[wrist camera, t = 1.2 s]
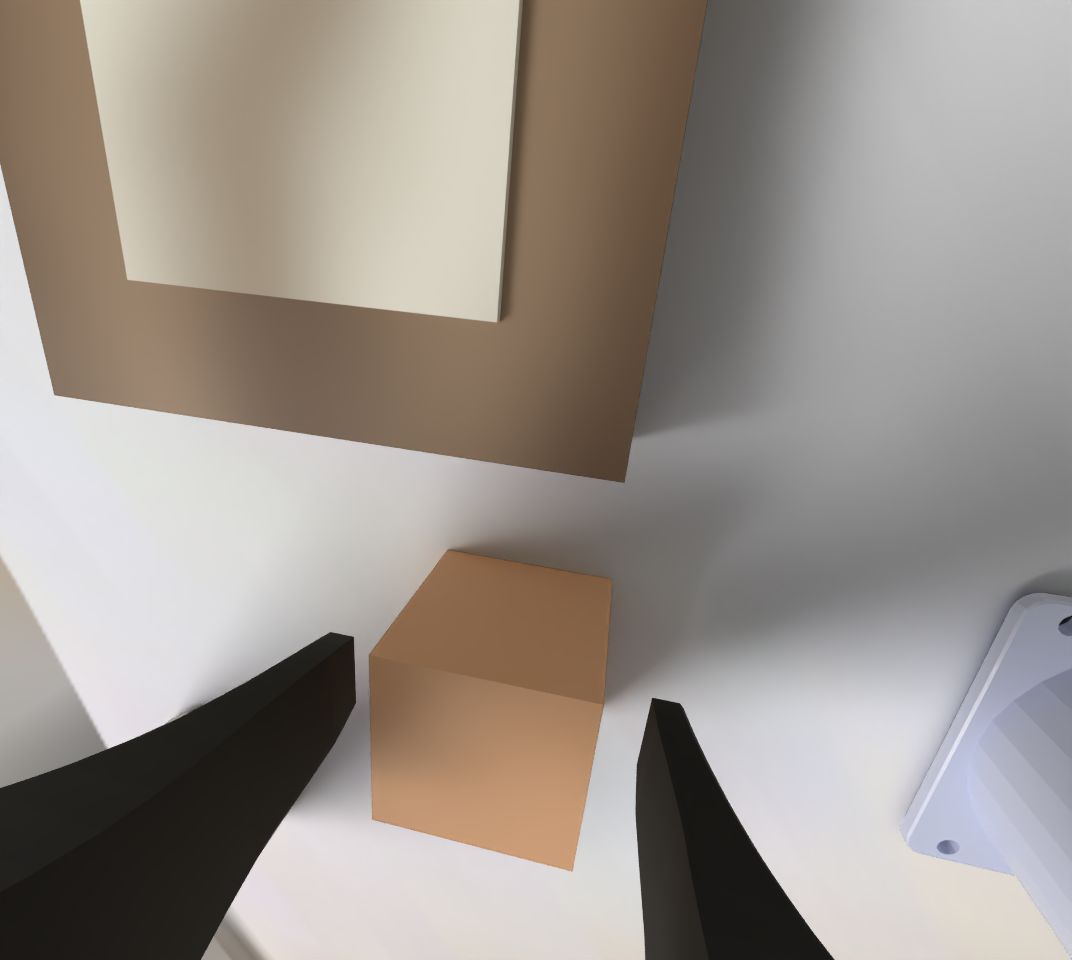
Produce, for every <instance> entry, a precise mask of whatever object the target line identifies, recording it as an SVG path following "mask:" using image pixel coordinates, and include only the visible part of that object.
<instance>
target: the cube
mask: <svg viewBox="0 0 1072 960" xmlns="http://www.w3.org/2000/svg"><path fill="white" fill-rule="evenodd" d="M611 591H612V579H608V578H602V577H596V576H591V575H585V574H580V573H574V572H569V571H563V570H557V569H552V568H546V567H541V566H535V565H529V564H524V563H518V562H513V561H507V560H502V559H496V558H490V557H485V556H479V555H474V554H468V553H463V552H457V551H451V550H447V551H446V553H445V554H444V555H443V557H442V558H441V559H440V561H439V562H438V563H437V565H436V566H435V567H434V569H433V570H432V571H431V573H430V574H429V575H428V577H427V578H426V579H425V581H424V582H423V583H422V585H421V586H420V587H419V589H418V590H417V591H416V593H415V594H414V595H413V597H412V598H411V599H410V601H409V602H408V603H407V605H406V606H405V607H404V609H403V610H402V611H401V613H400V614H399V616H398V617H397V618H396V620H395V621H394V622H393V624H392V625H391V626H390V628H389V629H388V630H387V632H386V633H385V634H384V636H383V637H382V638H381V640H380V641H379V642H378V644H377V645H376V646H375V648H374V649H373V650H372V652H371V653H370V654H369V682H370V733H371V785H372V820H376V821H380V822H384V823H388V824H391V825H395V826H399V827H403V828H407V829H411V830H415V831H418V832H422V833H426V834H430V835H434V836H438V837H442V838H445V839H449V840H453V841H457V842H461V843H465V844H469V845H472V846H476V847H480V848H484V849H488V850H492V851H496V852H499V853H503V854H507V855H511V856H515V857H519V858H522V859H526V860H530V861H534V862H538V863H542V864H546V865H549V866H553V867H557V868H561V869H565V870H569V871H573V866H574V861H575V855H576V850H577V845H578V839H579V834H580V829H581V823H582V818H583V813H584V807H585V802H586V797H587V791H588V786H589V781H590V775H591V770H592V765H593V759H594V754H595V749H596V743H597V738H598V733H599V727H600V722H601V717H602V711H603V706H604V694H605V679H606V664H607V650H608V635H609V620H610V606H611Z"/></svg>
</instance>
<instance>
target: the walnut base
mask: <svg viewBox="0 0 1072 960" xmlns="http://www.w3.org/2000/svg"><path fill="white" fill-rule="evenodd" d="M707 1H708V0H0V164H1V169H2V173H3V177H4V181H5V186H6V190H7V194H8V199H9V203H10V207H11V211H12V216H13V220H14V224H15V229H16V233H17V237H18V241H19V246H20V250H21V254H22V258H23V263H24V267H25V271H26V276H27V280H28V284H29V288H30V293H31V297H32V301H33V305H34V310H35V314H36V318H37V323H38V327H39V331H40V335H41V340H42V344H43V348H44V353H45V357H46V361H47V365H48V370H49V374H50V378H51V382H52V387H53V391H54V395H57V396H63V397H70V398H76V399H83V400H89V401H96V402H102V403H109V404H115V405H122V406H128V407H135V408H141V409H148V410H154V411H161V412H167V413H174V414H180V415H187V416H193V417H200V418H206V419H213V420H219V421H226V422H232V423H239V424H245V425H252V426H258V427H265V428H271V429H278V430H284V431H291V432H297V433H304V434H310V435H317V436H323V437H330V438H337V439H343V440H350V441H356V442H363V443H369V444H376V445H382V446H389V447H395V448H402V449H408V450H415V451H421V452H428V453H434V454H441V455H447V456H454V457H460V458H467V459H473V460H480V461H486V462H493V463H499V464H506V465H512V466H519V467H525V468H532V469H538V470H545V471H551V472H558V473H564V474H571V475H577V476H584V477H590V478H597V479H603V480H610V481H616V482H623V483H624V482H625V476H626V471H627V465H628V459H629V453H630V447H631V442H632V436H633V430H634V424H635V418H636V413H637V407H638V401H639V395H640V389H641V384H642V378H643V372H644V366H645V360H646V355H647V349H648V343H649V337H650V331H651V326H652V320H653V314H654V308H655V302H656V297H657V291H658V285H659V279H660V273H661V268H662V262H663V256H664V250H665V244H666V239H667V233H668V227H669V221H670V215H671V210H672V204H673V198H674V192H675V186H676V181H677V175H678V169H679V163H680V157H681V152H682V146H683V140H684V134H685V128H686V123H687V117H688V111H689V105H690V99H691V94H692V88H693V82H694V76H695V70H696V65H697V59H698V53H699V47H700V41H701V36H702V30H703V24H704V18H705V13H706V7H707Z"/></svg>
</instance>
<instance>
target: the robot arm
mask: <svg viewBox="0 0 1072 960" xmlns="http://www.w3.org/2000/svg"><path fill="white" fill-rule="evenodd" d="M1069 616H1072V597H1067V596H1061V595H1055V594H1048V593H1033V594H1029V595H1025V596H1023V597H1022V598H1020V599H1019V600H1017V601H1016V602H1015V603H1014V604H1013V605H1012V607H1011V608H1010V610H1009V612H1008V614H1007V616H1006V618H1005V620H1004V622H1003V624H1002V626H1001V628H1000V630H999V632H998V634H997V636H996V638H995V640H994V642H993V644H992V646H991V648H990V650H989V652H988V654H987V656H986V658H985V659H984V661H983V663H982V665H981V667H980V669H979V671H978V673H977V675H976V677H975V679H974V681H973V683H972V685H971V687H970V689H969V691H968V693H967V695H966V697H965V699H964V701H963V703H962V705H961V707H960V709H959V711H958V713H957V715H956V717H955V719H954V721H953V723H952V725H951V727H950V729H949V731H948V733H947V735H946V737H945V739H944V741H943V743H942V745H941V747H940V749H939V751H938V753H937V755H936V757H935V759H934V761H933V763H932V764H931V766H930V768H929V770H928V772H927V774H926V776H925V778H924V780H923V782H922V784H921V786H920V788H919V790H918V792H917V794H916V796H915V798H914V800H913V802H912V804H911V806H910V808H909V810H908V812H907V814H906V816H905V818H904V820H903V822H902V824H901V827H900V832H901V834H902V836H903V838H904V840H905V842H906V844H907V846H908V847H909V848H910V849H911V850H913V851H915V852H917V853H920V854H923V855H928V856H932V857H936V858H941V859H945V860H949V861H953V862H958V863H962V864H966V865H971V866H975V867H979V868H984V869H988V870H992V871H996V872H1001V873H1005V874H1009V875H1014V876H1016V878H1017V879H1018V881H1019V882H1020V883H1021V885H1022V886H1023V888H1024V889H1025V891H1026V892H1027V894H1028V895H1029V897H1030V898H1031V900H1032V901H1033V903H1034V904H1035V906H1036V907H1037V909H1038V910H1039V912H1040V913H1041V915H1042V916H1043V918H1044V919H1045V921H1046V922H1047V924H1048V925H1049V927H1050V928H1051V929H1052V931H1053V932H1054V934H1055V935H1056V937H1057V938H1058V940H1059V941H1060V943H1061V944H1062V946H1063V947H1064V949H1065V950H1066V952H1067V953H1068V955H1069V956H1070V958H1071V959H1072V618H1071V619H1070V620H1069V621H1068V622H1067V623H1064V624H1062V625H1059V623H1060V622H1061V621H1062V620H1063V619H1064V618H1067V617H1069ZM355 704H356V691H355V659H354V637H352V636H347V635H342V634H337V633H332V632H330V633H328V634H327V635H325V636H323V637H321V638H320V639H318V640H316V641H315V642H313V643H311V644H309V645H308V646H306V647H305V648H303V649H301V650H300V651H298V652H296V653H295V654H293V655H291V656H290V657H288V658H286V659H285V660H283V661H281V662H280V663H278V664H276V665H275V666H273V667H271V668H270V669H268V670H266V671H264V672H263V673H261V674H259V675H258V676H256V677H254V678H253V679H251V680H249V681H247V682H246V683H244V684H242V685H240V686H238V687H237V688H235V689H233V690H231V691H229V692H227V693H225V694H224V695H222V696H220V697H218V698H216V699H214V700H213V701H211V702H209V703H207V704H205V705H203V706H201V707H200V708H198V709H196V710H194V711H192V712H190V713H188V714H186V715H184V716H182V717H180V718H178V719H176V720H173V721H171V722H169V723H167V724H165V725H163V726H161V727H158V728H156V729H154V730H152V731H150V732H147V733H145V734H143V735H141V736H139V737H136V738H134V739H132V740H129V741H127V742H124V743H122V744H119V745H117V746H114V747H112V748H109V749H107V750H105V751H102V752H99V753H97V754H94V755H92V756H89V757H87V758H84V759H82V760H79V761H77V762H74V763H72V764H69V765H66V766H64V767H61V768H58V769H55V770H52V771H50V772H47V773H44V774H41V775H38V776H36V777H32V778H30V779H26V780H24V781H20V782H17V783H14V784H12V785H8V786H6V787H2V788H0V960H201V958H202V956H203V955H204V953H205V951H206V949H207V947H208V945H209V944H210V942H211V940H212V938H213V936H214V934H215V933H216V931H217V929H218V927H219V925H220V923H221V922H222V920H223V918H224V916H225V914H226V912H227V911H228V909H229V907H230V905H231V903H232V902H233V900H234V898H235V896H236V895H237V893H238V891H239V889H240V888H241V886H242V884H243V882H244V881H245V879H246V877H247V875H248V874H249V872H250V870H251V868H252V867H253V865H254V863H255V861H256V860H257V858H258V856H259V855H260V853H261V852H262V850H263V849H264V847H265V845H266V844H267V842H268V841H269V839H270V838H271V836H272V835H273V833H274V832H275V830H276V829H277V827H278V826H279V824H280V823H281V822H282V820H283V819H284V817H285V816H286V814H287V813H288V811H289V810H290V808H291V807H292V806H293V804H294V803H295V801H296V800H297V798H298V797H299V795H300V794H301V792H302V791H303V789H304V788H305V787H306V785H307V784H308V782H309V781H310V779H311V778H312V776H313V775H314V773H315V772H316V770H317V769H318V768H319V766H320V765H321V763H322V762H323V760H324V759H325V757H326V756H327V754H328V753H329V751H330V750H331V748H332V747H333V745H334V744H335V742H336V740H337V738H338V736H339V734H340V733H341V731H342V729H343V727H344V725H345V723H346V721H347V719H348V717H349V715H350V713H351V711H352V709H353V707H354V705H355ZM636 828H637V842H638V856H639V869H640V883H641V896H642V909H643V923H644V937H645V960H834V959H833V957H832V956H831V955H830V953H829V952H828V951H827V950H826V948H825V947H824V946H823V944H822V943H821V942H820V941H819V939H818V938H817V937H816V936H815V934H814V933H813V931H812V930H811V929H810V927H809V926H808V925H807V923H806V922H805V920H804V919H803V918H802V916H801V915H800V913H799V912H798V911H797V909H796V908H795V906H794V905H793V904H792V902H791V901H790V899H789V898H788V897H787V895H786V894H785V892H784V891H783V889H782V888H781V886H780V885H779V883H778V882H777V880H776V879H775V877H774V876H773V874H772V873H771V871H770V870H769V868H768V867H767V865H766V864H765V862H764V860H763V859H762V857H761V856H760V854H759V853H758V851H757V849H756V848H755V846H754V845H753V843H752V841H751V840H750V838H749V836H748V834H747V833H746V831H745V829H744V828H743V826H742V824H741V823H740V821H739V819H738V818H737V816H736V814H735V812H734V811H733V809H732V807H731V805H730V803H729V802H728V800H727V798H726V796H725V794H724V792H723V790H722V788H721V787H720V785H719V783H718V781H717V779H716V777H715V775H714V773H713V771H712V769H711V767H710V765H709V764H708V762H707V759H706V757H705V755H704V753H703V751H702V749H701V747H700V745H699V743H698V741H697V738H696V736H695V734H694V732H693V730H692V727H691V725H690V723H689V720H688V718H687V716H686V713H685V711H684V708H683V707H682V706H681V704H680V703H675V702H670V701H665V700H660V699H656V698H652V701H651V706H650V710H649V714H648V719H647V723H646V727H645V732H644V736H643V740H642V745H641V749H640V754H639V758H638V762H637V776H636Z"/></svg>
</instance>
